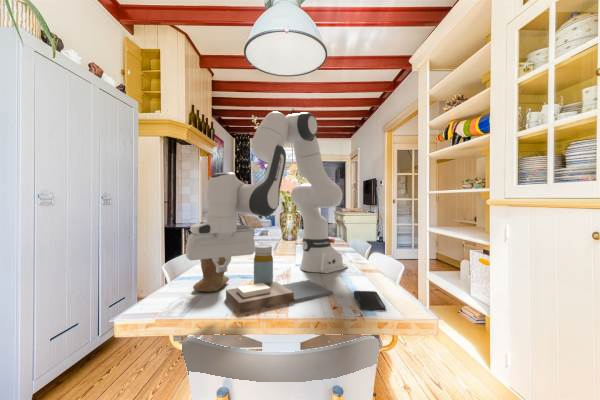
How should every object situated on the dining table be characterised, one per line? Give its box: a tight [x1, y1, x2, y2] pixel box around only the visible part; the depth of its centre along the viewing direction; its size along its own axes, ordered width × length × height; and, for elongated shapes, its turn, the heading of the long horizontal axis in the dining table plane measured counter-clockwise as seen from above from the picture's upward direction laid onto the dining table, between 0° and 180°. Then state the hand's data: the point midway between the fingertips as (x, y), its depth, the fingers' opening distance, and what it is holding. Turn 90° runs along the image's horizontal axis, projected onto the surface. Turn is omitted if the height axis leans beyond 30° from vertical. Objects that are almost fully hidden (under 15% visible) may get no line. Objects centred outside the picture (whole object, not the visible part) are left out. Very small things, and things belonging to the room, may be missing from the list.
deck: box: [225, 281, 294, 314], centre depth 95 cm, size 18×13×3 cm
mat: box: [281, 279, 334, 303], centre depth 104 cm, size 15×15×1 cm
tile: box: [236, 283, 271, 297], centre depth 94 cm, size 9×6×2 cm, turn 121°
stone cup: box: [192, 257, 230, 293], centre depth 108 cm, size 15×12×15 cm
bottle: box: [253, 244, 274, 284], centre depth 109 cm, size 7×7×15 cm
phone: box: [353, 290, 386, 311], centre depth 95 cm, size 8×1×15 cm
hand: (221, 271), depth 88 cm, fingers closed
